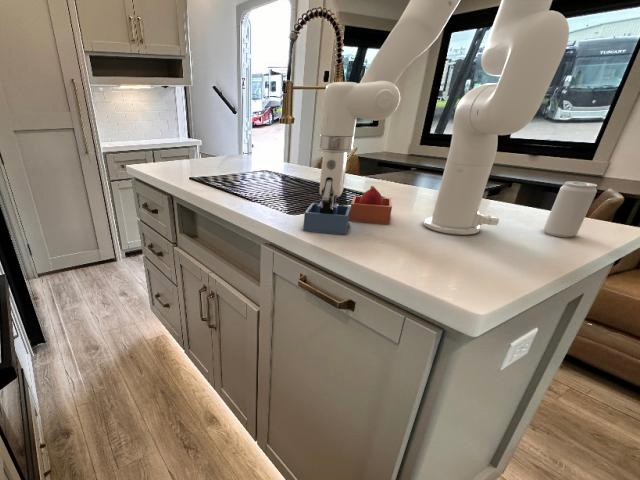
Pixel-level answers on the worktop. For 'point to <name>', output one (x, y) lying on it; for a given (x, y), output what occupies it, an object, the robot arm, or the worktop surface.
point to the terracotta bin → (370, 211)
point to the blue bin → (326, 220)
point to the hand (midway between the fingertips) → (326, 220)
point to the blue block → (335, 207)
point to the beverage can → (570, 208)
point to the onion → (371, 197)
